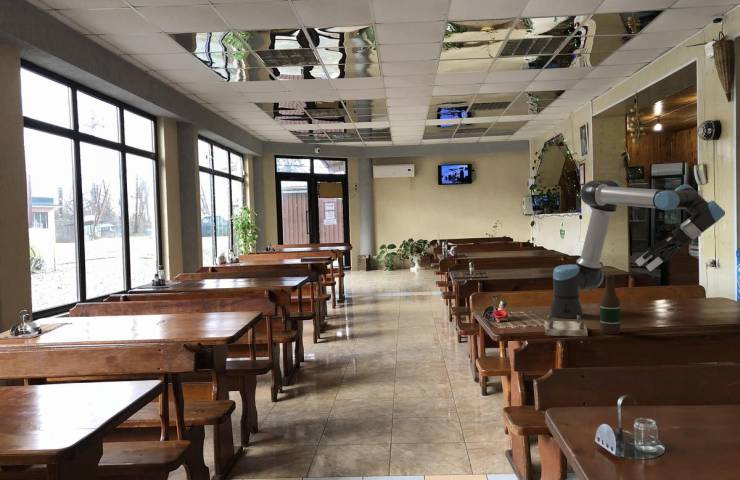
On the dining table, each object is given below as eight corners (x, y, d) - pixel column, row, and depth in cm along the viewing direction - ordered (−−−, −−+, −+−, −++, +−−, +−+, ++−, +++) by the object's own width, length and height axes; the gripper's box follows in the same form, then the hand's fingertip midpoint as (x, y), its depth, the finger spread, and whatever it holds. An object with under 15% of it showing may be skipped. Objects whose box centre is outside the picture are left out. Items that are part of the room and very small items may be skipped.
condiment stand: (546, 335, 239) (545, 322, 238) (544, 326, 254) (544, 314, 254) (587, 336, 235) (587, 323, 234) (583, 327, 250) (583, 314, 250)
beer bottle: (619, 330, 242) (619, 273, 241) (621, 335, 235) (621, 276, 233) (599, 329, 245) (599, 273, 243) (600, 334, 238) (600, 276, 236)
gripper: (684, 233, 223) (638, 268, 231) (700, 245, 241) (658, 277, 249) (670, 219, 227) (626, 254, 235) (688, 232, 245) (646, 264, 253)
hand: (642, 266), depth 242 cm, fingers open, 13 cm apart
